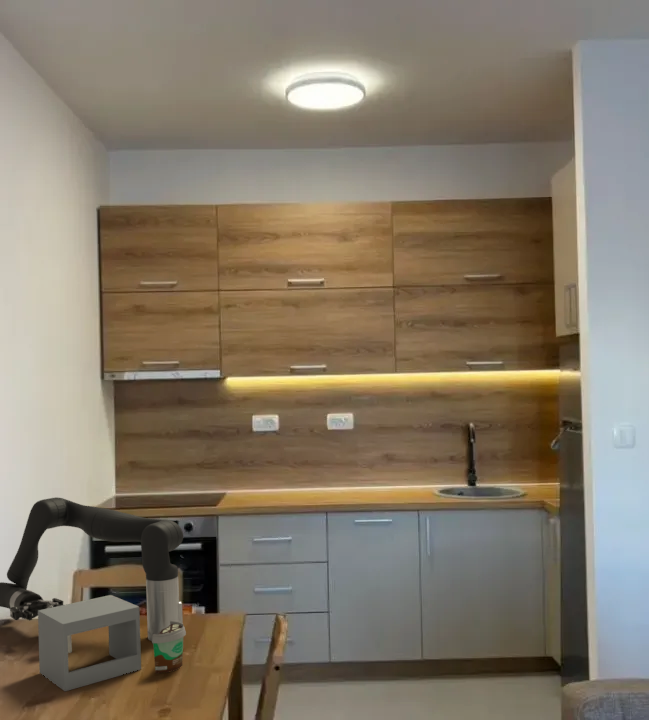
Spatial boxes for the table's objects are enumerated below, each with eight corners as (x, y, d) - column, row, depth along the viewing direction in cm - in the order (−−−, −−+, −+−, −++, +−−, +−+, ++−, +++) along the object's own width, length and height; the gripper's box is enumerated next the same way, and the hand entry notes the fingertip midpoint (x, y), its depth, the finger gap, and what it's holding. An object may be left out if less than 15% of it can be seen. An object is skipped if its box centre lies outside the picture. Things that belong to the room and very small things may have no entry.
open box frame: (112, 653, 213) (110, 594, 213) (141, 669, 200) (139, 606, 200) (39, 673, 200) (37, 610, 200) (64, 691, 187) (63, 624, 187)
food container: (176, 676, 194) (174, 635, 194) (153, 675, 195) (151, 635, 196) (194, 658, 206) (192, 620, 207) (172, 658, 207) (171, 620, 208)
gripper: (1, 596, 232) (20, 605, 219) (49, 586, 241) (69, 595, 228) (2, 621, 231) (21, 632, 219) (49, 610, 240) (70, 620, 228)
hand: (45, 613), depth 224 cm, fingers open, 8 cm apart
